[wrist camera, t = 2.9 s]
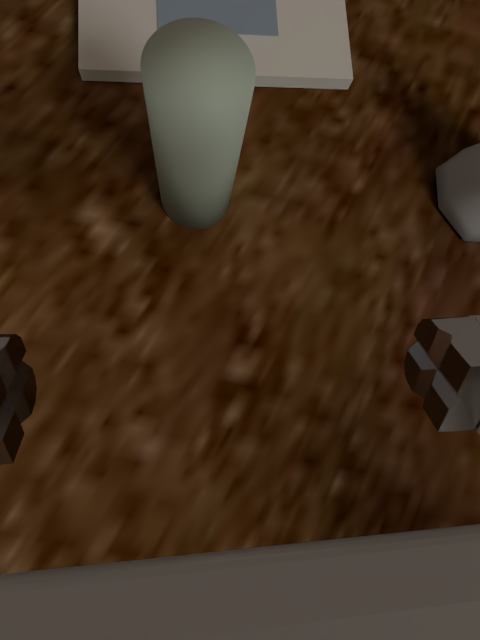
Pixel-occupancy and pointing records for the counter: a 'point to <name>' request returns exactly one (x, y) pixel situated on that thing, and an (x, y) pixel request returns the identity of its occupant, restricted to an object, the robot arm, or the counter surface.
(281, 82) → the card
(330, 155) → the counter surface
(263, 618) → the robot arm
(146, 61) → the pale green cylinder
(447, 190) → the flask
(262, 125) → the counter surface
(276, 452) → the counter surface
